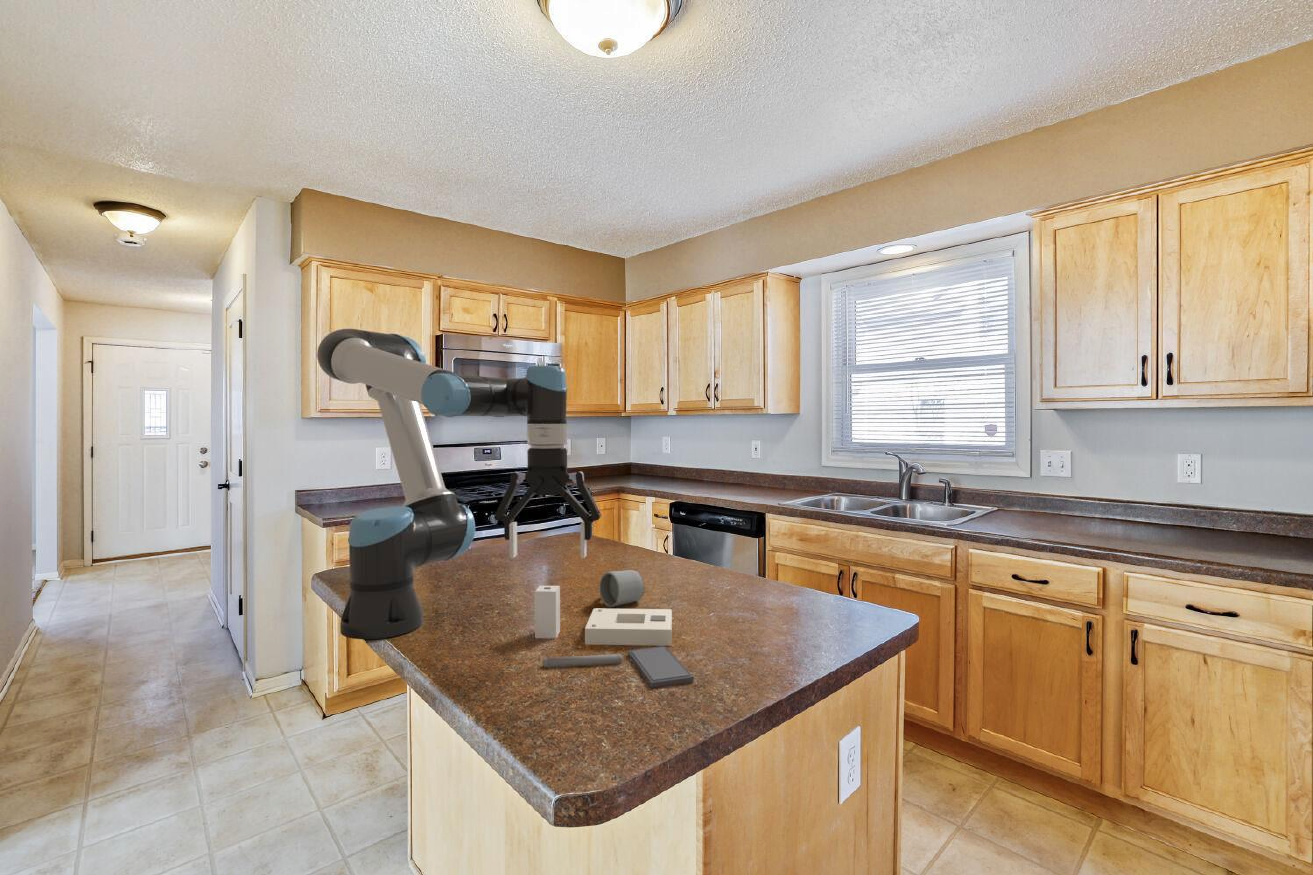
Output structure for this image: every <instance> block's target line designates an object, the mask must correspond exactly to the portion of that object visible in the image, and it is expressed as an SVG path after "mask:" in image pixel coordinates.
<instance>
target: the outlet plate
mask: <svg viewBox="0 0 1313 875" xmlns="http://www.w3.org/2000/svg"><path fill="white" fill-rule="evenodd" d="M672 628H673V609H671V608H670V609H669V608H665V609H664V608H662V609H661V608H597V607H596V608H593V609H592V612H591V614H590V615H589V618H588V621H587V623H586V625H585V628H584V645H587V646H589V645H590V646H591V645H593V646H596V645H598V646H654V647H660V646H666V647H671V646H672V639H673V638H672V636H673V635H672V633H673V632H672V631H673V629H672Z"/></svg>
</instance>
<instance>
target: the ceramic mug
mask: <svg viewBox="0 0 1313 875" xmlns="http://www.w3.org/2000/svg"><path fill="white" fill-rule="evenodd" d="M645 590H646V588H645V580H644V578H643V575H642V574H641V573H640V572H639V571H637V570H632V569H626V570H618V571H617V570H615V571H608V572H607V571H606V572H604V574H602V576H601V578H600V581H599V593H600V594H599V595H600V598H601V600H602V602H603V604H605V606H606V607H608V608H609V607H610V608H614V607H619V606H623V605H624V606H625V605H628V604H632V603H635V602H637V601H639V600H641V599H642V598H643V596H644V593H645Z"/></svg>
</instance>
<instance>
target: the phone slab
mask: <svg viewBox="0 0 1313 875" xmlns="http://www.w3.org/2000/svg"><path fill="white" fill-rule="evenodd" d="M627 656H628V657H629V659H631V661H632V663H633V664H634V665H635V667H636V668H637V670H638V671H639V672H640V674H641V675H642V677H643V678H644V680H645V681H646V682H647V684H648V685H649V687H650V688H651V689H654V688H662V687H666V686H667V687H668V686H675V685H682V684H689V683H694V680H695V678H694V676H693V674H691V672H690V671H689V670H688V669H687V667H685V666H684V665H683V663H681V662H680V660H679V659H678V658H677V657H676V656H675V654H673V653H672V652H671V651H670V650H669V648H668V646H654V647H645V648H636V649H628V650H627Z"/></svg>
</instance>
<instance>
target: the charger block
mask: <svg viewBox="0 0 1313 875" xmlns="http://www.w3.org/2000/svg"><path fill="white" fill-rule="evenodd" d="M560 632H561V586H560V585H538V587H537V588H536V590H534V635H535V636H534V638H535V639H557V638H558V636H559V633H560Z"/></svg>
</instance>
